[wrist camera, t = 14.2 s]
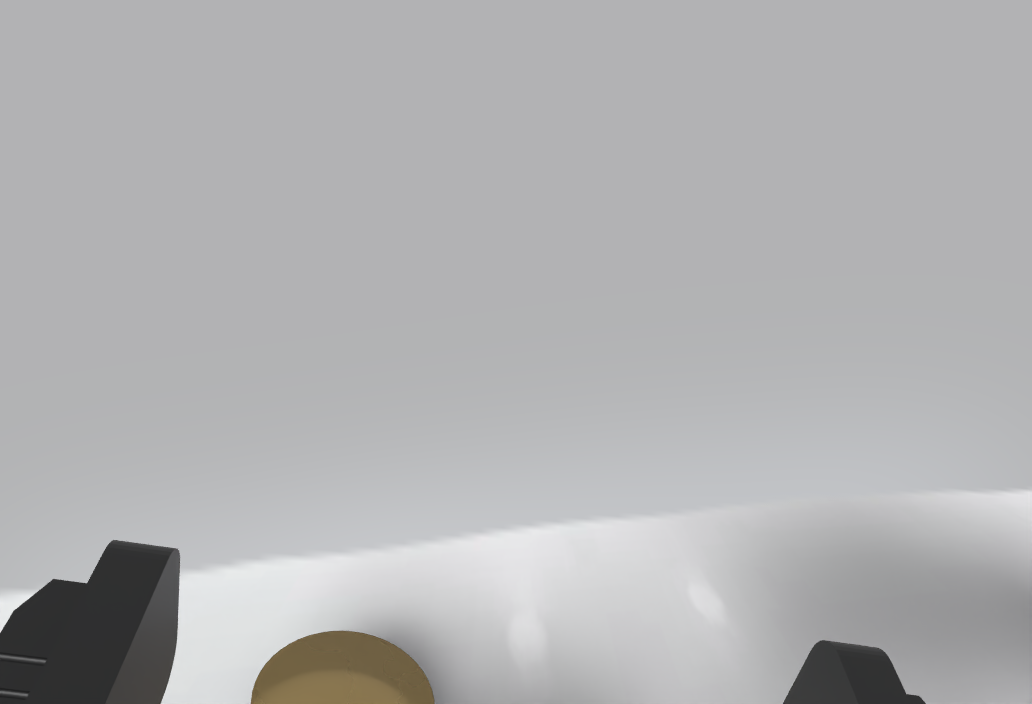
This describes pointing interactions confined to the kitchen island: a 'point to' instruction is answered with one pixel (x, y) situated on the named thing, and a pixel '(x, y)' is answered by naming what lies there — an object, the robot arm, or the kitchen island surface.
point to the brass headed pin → (341, 673)
